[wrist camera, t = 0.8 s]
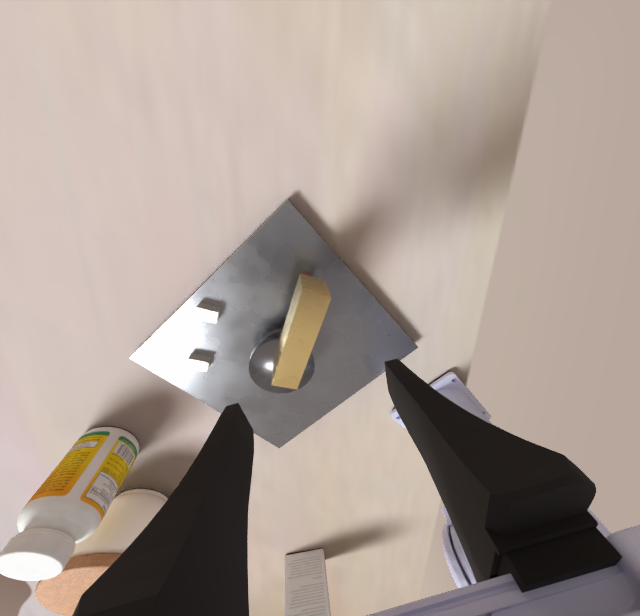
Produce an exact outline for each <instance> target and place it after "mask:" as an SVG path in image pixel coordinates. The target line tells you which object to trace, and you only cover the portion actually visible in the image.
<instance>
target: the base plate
mask: <svg viewBox="0 0 640 616" xmlns="http://www.w3.org/2000/svg"><path fill="white" fill-rule="evenodd" d="M300 274H303V275H307V276H310V277H314V278H318V279H321V280H325V282H326V284H327V287H328V290H329V293H330V295H331V301H330V304H329V306H328V309H327V312H326V314H325V317H324V320H323V322H322V325H321V328H320V330H319V333H318V335H317V338H316V341H315V343H314V346H313V349H312V354H313V358H314V364H315V368H314V373H313V376H312V378H311V379H310V381H309V382H308V383H307V384H306V385H305V386H303V387H302V388H300V389H298V390H296V391H293V392H289V393H272V392H269V391H266V390H264V389H262V388H260V387H259V386H257V385H256V384H255V383H254V381H253V380H252V378H251V376H250V374H249V362H250V357H251V354H252V352H253V350H254V348H255V347H256V346H257V345H258V344H259V343H260V342H262V341H263V340H265V339H267V338H270V337H273V336H280V335H281V333H282V330H283V326H284V323H285V320H286V317H287V314H288V310H289V307H290V304H291V301H292V298H293V294H294V291H295V288H296V285H297V282H298V278H299V275H300ZM417 348H418V347H417V345H416V344H415V343H414V341H413V340H412V339H411V338H410V337H409V336H408V335H407V334H406V332H405V331H404V330H403V329H402V328H401V327H400V326H399V324H398V323H397V322H396V321H395V320H394V319H393V318H392V317H391V315H390V314H389V313H388V312H387V311H386V310H385V309H384V307H383V306H382V305H381V304H380V303H379V302H378V301H377V300H376V298H375V297H374V296H373V295H372V294H371V293H370V292H369V290H368V289H367V288H366V287H365V286H364V285H363V284H362V283H361V281H360V280H359V279H358V278H357V277H356V276H355V275H354V273H353V272H352V271H351V270H350V269H349V268H348V267H347V266H346V264H345V263H344V262H343V261H342V260H341V259H340V258H339V256H338V255H337V254H336V253H335V252H334V251H333V250H332V249H331V247H330V246H329V245H328V244H327V243H326V242H325V241H324V239H323V238H322V237H321V236H320V235H319V234H318V233H317V232H316V230H315V229H314V228H313V227H312V226H311V225H310V224H309V222H308V221H307V220H306V219H305V218H304V217H303V216H302V215H301V213H300V212H299V211H298V210H297V209H296V208H295V207H294V205H293V204H292V203H291V202H290V201H289V200H288V199H287V200H286V201H285V202H284V203H283V204H282V205H281V206H280V207H279V208H278V209H277V210H276V211H275V212H274V213H273V214H272V215H271V216H270V217H269V218H268V219H267V220H266V221H265V222H264V223H263V224H262V225H261V226H260V227H259V228H258V229H257V230H256V231H255V232H254V233H253V234H252V235H251V236H250V237H249V238H248V239H247V240H246V241H245V242H244V243H243V244H242V245H241V246H240V247H239V248H238V249H237V250H236V251H235V252H234V253H233V254H232V255H231V256H230V257H229V258H228V259H227V260H226V261H225V262H224V263H223V264H222V265H221V266H220V267H219V268H218V269H217V270H216V271H215V272H214V273H213V274H212V275H211V276H210V277H209V278H208V279H207V281H206V282H205V283H204V284H203V285H202V286H201V287H200V288H199V289H198V290H197V291H196V292H195V293H194V294H193V295H192V296H191V297H190V298H189V299H188V300H187V301H186V302H185V303H184V304H183V305H182V306H181V307H180V308H179V309H178V310H177V311H176V312H175V313H174V314H173V315H172V316H171V317H170V318H169V319H168V320H167V321H166V322H165V323H164V324H163V325H162V326H161V327H160V328H159V329H158V330H157V331H156V332H155V333H154V334H153V335H152V336H151V337H150V338H149V339H148V340H147V341H146V342H145V343H144V344H143V345H142V346H141V347H140V348H139V349H138V350H137V351H136V352H135V353H134V354H133V355H132V356H131V357H130V358H131V359H132V360H134V361H135V362H137V363H139V364H140V365H142V366H144V367H145V368H147V369H149V370H150V371H152V372H154V373H155V374H157V375H159V376H160V377H162V378H164V379H165V380H167V381H169V382H170V383H172V384H174V385H175V386H177V387H179V388H180V389H182V390H184V391H185V392H187V393H189V394H190V395H192V396H193V397H195V398H197V399H198V400H200V401H202V402H203V403H205V404H207V405H208V406H210V407H212V408H213V409H215V410H217V411H218V412H220V413H222V412H223V410H224V409H225V407H226V406H228V405H232V404H236V403H239V405H240V407H241V409H242V410H243V412H244V414H245V416H246V418H247V419H248V421H249V423H250V425H251V427H252V428H253V433H255V434H256V435H258V436H260V437H261V438H263V439H265V440H266V441H268V442H270V443H271V444H273V445H275V446H276V447H278V448H280V447H282V446H283V445H284V444H286V443H287V442H288V441H290V440H291V439H293V438H294V437H295V436H297V435H298V434H299V433H301V432H302V431H304V430H305V429H306V428H308V427H309V426H311V425H312V424H313V423H315V422H316V421H317V420H319V419H320V418H322V417H323V416H324V415H326V414H327V413H328V412H330V411H331V410H333V409H334V408H335V407H337V406H338V405H339V404H341V403H342V402H344V401H345V400H346V399H348V398H349V397H350V396H352V395H353V394H355V393H356V392H357V391H359V390H360V389H361V388H363V387H364V386H366V385H367V384H368V383H370V382H371V381H372V380H374V379H375V378H377V377H378V376H379V375H381V374H382V373H383V372H385V364H384V362H385V361H389V360H393V359H396V358H397V359H399V360H401V359H403V358H404V357H405V356H407V355H408V354H410V353H411V352H412V351H414V350H415V349H417Z"/></svg>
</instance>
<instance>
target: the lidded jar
mask: <svg viewBox="0 0 640 616" xmlns="http://www.w3.org/2000/svg"><path fill="white" fill-rule="evenodd" d="M167 500H168V498H167V497H166V496H165V495H164V494H162V493H160V492H158V491H154V490H150V489H131V490H127V491H124V492H122V493H120V494H119V495H118V496H117V497H116V498H114V499H113V501H112V503H111V505H110V507H109V508H108V510H107V512H106V514H105V516H104V518H103V519H102V521H101V523H100V525H99V526H98V528H97V529H96V531H95V532H94V533H93V534H92V535H91V536H89V537H88V538H87V539H85V540H83V541H81V542H79V543H76V547H75V550H74V553H73V554H72V556H71V557H70V559H69V561H68V562H67V564H66V566H65V568H64V569H63V571H62V572H61V573H60V574H59V575H57V576H55V577H53V578H50V579H46V580H40V581H39V583H38V584H37V586H36V589H35V596H36V599H37V601H38V602H39V603H40V604H41V605H43V606H44V607H45V608H47V609H49V610H51V611H53V612H56V613H58V614H61V615H65V616H72V615H73V613H74V611H75V608H76V606H77V604H78V602H79V600H80V598H81V596H82V594H83V593H84V592H85V591H86V590H87V589H88V588H89V587H90V586H91V585H92V584H93V583H94V582H95V581H96V580H97V579H98V578H99V577H100V576H101V575H102V574H103V573H104V572H105V571H106V570H107V569H108V568H109V567H110V566H111V565H112V564H113V563H114V562H115V561H116V560H117V559H118V557H119V556H120V555H121V554H122V553H123V552H124V551H125V550H126V549H127V548H128V547H129V546H130V544H131V543H132V542H133V541H134V540H135V539H136V538H137V537H138V535H139V534H140V533H141V532H142V531H143V530H144V528H145V527H146V526H147V525H148V524H149V522H150V521H151V520H152V519H153V517H154V516H155V515H156V514H157V513H158V511H159V510H160V509H161V508H162V506H163V505H164V504H165V503H166V501H167Z"/></svg>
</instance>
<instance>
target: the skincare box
mask: <svg viewBox="0 0 640 616" xmlns="http://www.w3.org/2000/svg"><path fill="white" fill-rule="evenodd" d="M285 616H331V613H330V604H329V594H328V585H327V575H326V565H325V557H324V550H323V549H317V550H312V551H306V552H301V553H296V554H290V555H285Z"/></svg>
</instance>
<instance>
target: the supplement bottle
mask: <svg viewBox="0 0 640 616" xmlns="http://www.w3.org/2000/svg"><path fill="white" fill-rule="evenodd" d="M138 453H139V443H138V441H137V439H136V438H135V437H134V436H133V435H132V434H130V433H129V432H127V431H125V430H123V429H119V428H115V427H99V428H94V429H91V430H89V431H87V432H86V433H84V434H83V435H82V436H81V437H80V438H79V440H78V441H77V442H76V443H75V445H74V446H73V447H72V448H71V449H70V451H69V452H68V453H67V454H66V456H65V457H64V458H63V460H62V461H61V462H60V463H59V465H58V466H57V467H56V468H55V469H54V471H53V472H52V473H51V474H50V476H49V477H48V478H47V479H46V481H45V482H44V483H43V484H42V485H41V487H40V488H39V489H38V490H37V492H36V493H35V494H34V495H33V496H32V498H31V499H30V500H29V501H28V503H27V504H26V505H25V507H24V508H23V509H22V511H21V512H20V514H19V517H18V520H17V527H18V530H19V532H20V533H18V534H17V535H16V536H15V537H13V538H12V539H11V540H10V541H9V542H8V543H7V545H6V546H5V548H4V549H3V550H2V552H1V553H0V574H2V575H4V576H6V577H9V578H13V579H17V580H22V581H40V580H46V579H50V578H53V577H55V576H57V575H59V574H60V573H61V572H62V571H63V569H64V568H65V566H66V564H67V562H68V561H69V559H70V557H71V556H72V554H73V553H74V550H75V547H76V543H79V542H81V541H83V540H85V539H87V538H88V537H89V536H91V535H92V534H93V533H94V532H95V531H96V529H97V528H98V526H99V525H100V523H101V521H102V519H103V518H104V516H105V514H106V512H107V510H108V508H109V507H110V505H111V503H112V501H113V499H114V497H115V496H116V494H117V492H118V490H119V488H120V486H121V485H122V483H123V481H124V479H125V477H126V475H127V474H128V472H129V470H130V468H131V466H132V464H133V463H134V461H135V459H136V457H137V455H138Z"/></svg>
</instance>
